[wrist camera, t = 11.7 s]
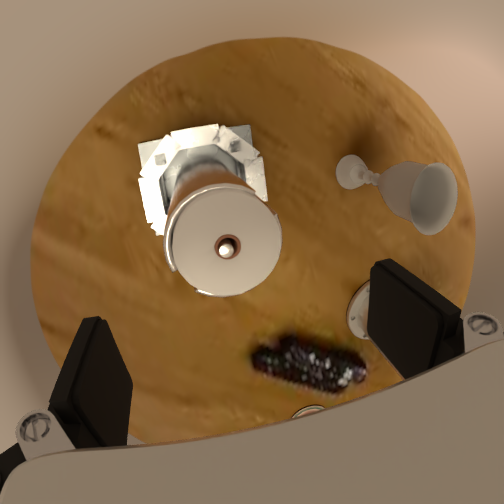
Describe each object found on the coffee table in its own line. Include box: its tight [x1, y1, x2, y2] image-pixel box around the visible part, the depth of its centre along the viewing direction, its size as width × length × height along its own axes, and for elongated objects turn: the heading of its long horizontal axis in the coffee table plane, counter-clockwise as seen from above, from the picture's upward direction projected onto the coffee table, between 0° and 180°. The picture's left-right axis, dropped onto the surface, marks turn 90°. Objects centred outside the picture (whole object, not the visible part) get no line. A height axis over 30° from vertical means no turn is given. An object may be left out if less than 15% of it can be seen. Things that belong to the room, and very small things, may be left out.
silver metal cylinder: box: [163, 155, 283, 297], centre depth 27 cm, size 6×6×25 cm
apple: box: [292, 406, 325, 418], centre depth 58 cm, size 8×8×6 cm
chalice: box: [336, 155, 458, 235], centre depth 35 cm, size 7×7×18 cm
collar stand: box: [138, 124, 268, 236], centre depth 36 cm, size 14×13×8 cm
